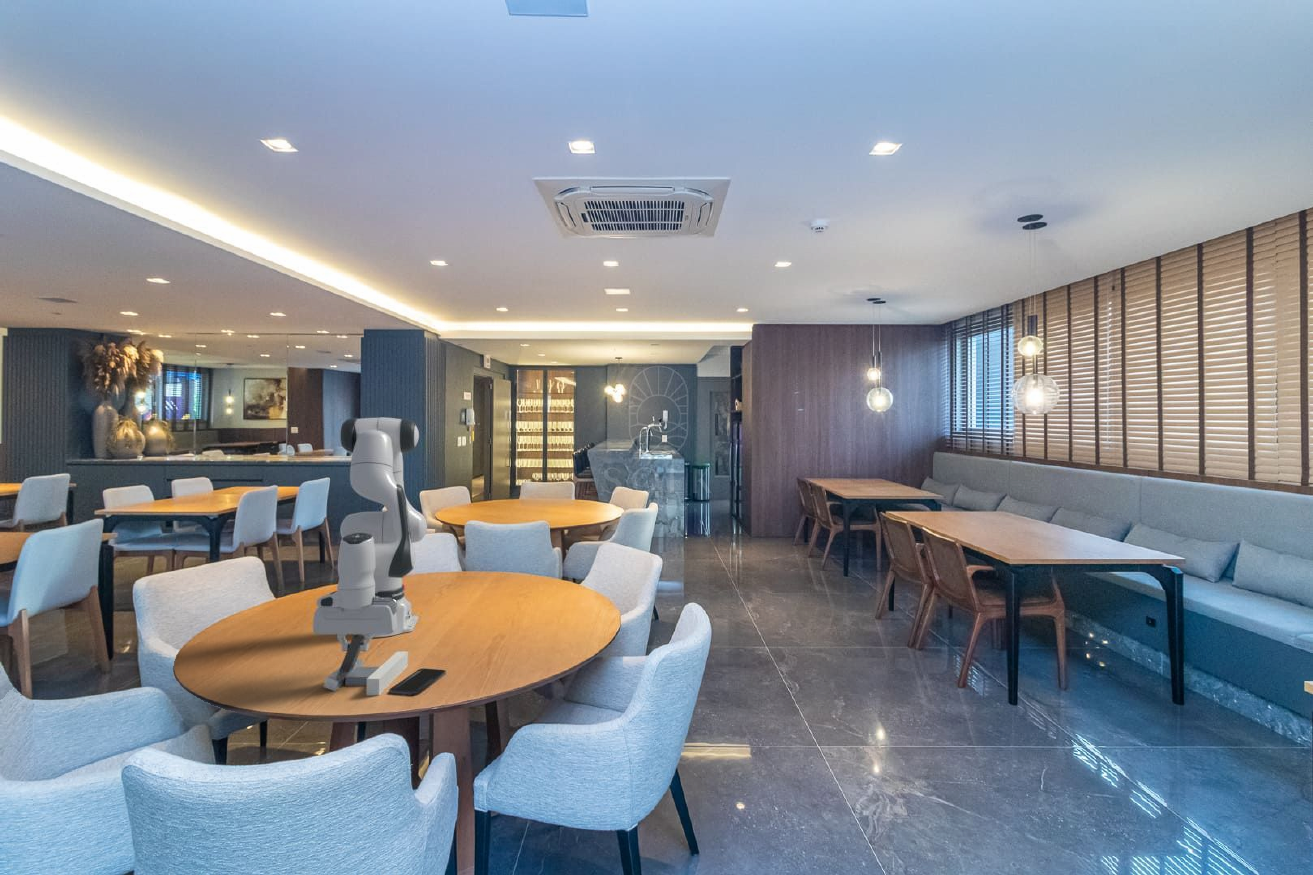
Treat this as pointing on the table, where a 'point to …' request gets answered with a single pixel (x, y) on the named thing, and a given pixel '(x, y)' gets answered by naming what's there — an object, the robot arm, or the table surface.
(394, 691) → the phone
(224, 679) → the table surface
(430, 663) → the table surface
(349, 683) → the slate tile
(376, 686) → the bar
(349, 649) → the upside-down t block
